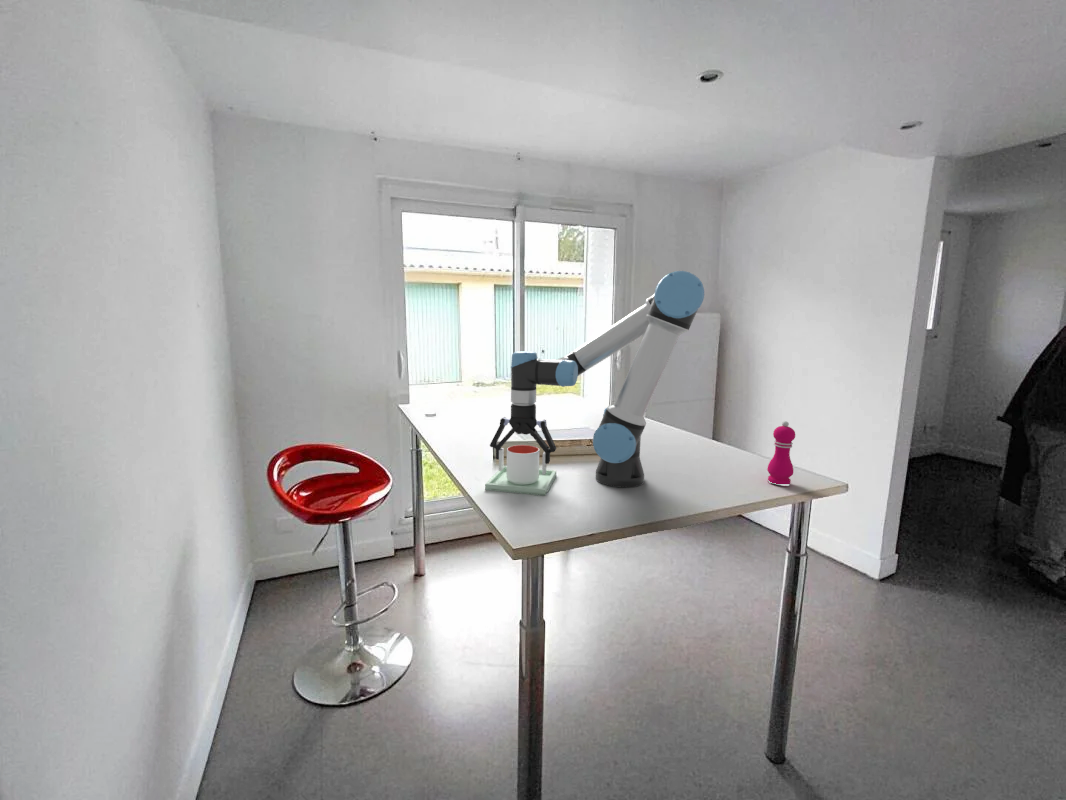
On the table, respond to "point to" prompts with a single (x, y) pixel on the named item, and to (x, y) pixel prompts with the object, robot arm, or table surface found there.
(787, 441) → the pepper mill
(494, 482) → the tray
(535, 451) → the cup
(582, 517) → the table surface
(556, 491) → the table surface
